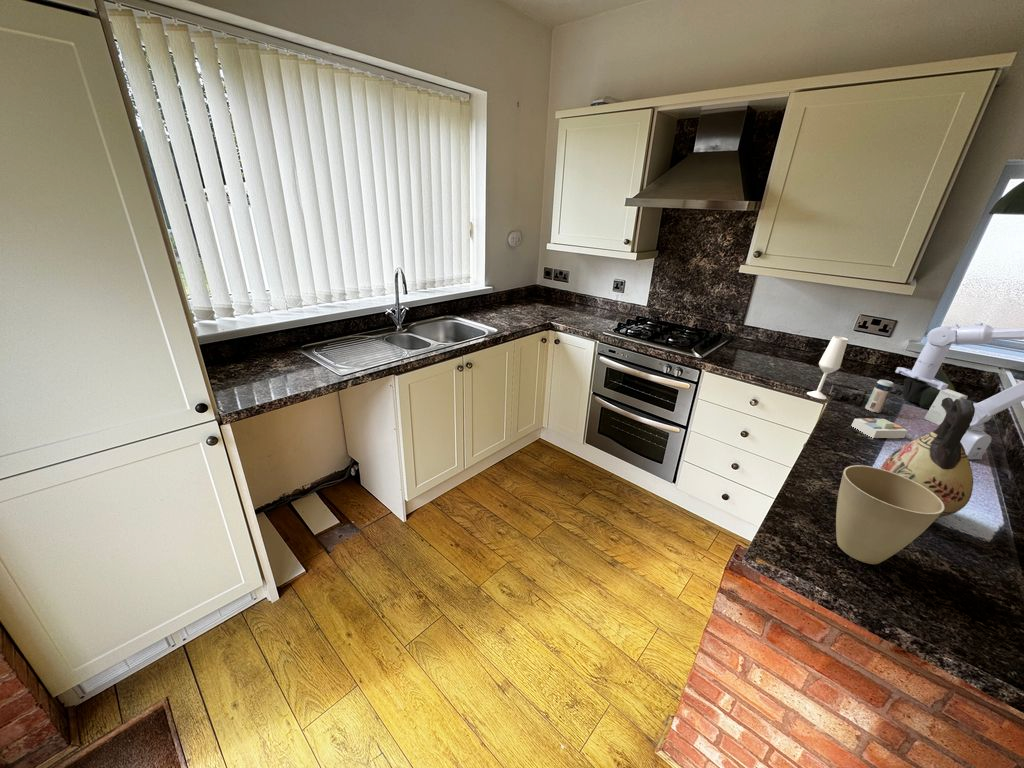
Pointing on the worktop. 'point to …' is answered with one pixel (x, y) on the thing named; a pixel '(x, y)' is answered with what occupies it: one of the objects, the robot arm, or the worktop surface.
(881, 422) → the sage key
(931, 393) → the squash
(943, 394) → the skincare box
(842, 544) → the plant pot
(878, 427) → the slate blue key
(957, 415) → the ceramic jug
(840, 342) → the champagne flute
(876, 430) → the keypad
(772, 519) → the worktop surface
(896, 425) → the terracotta key
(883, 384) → the beige capped bottle
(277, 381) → the worktop surface
